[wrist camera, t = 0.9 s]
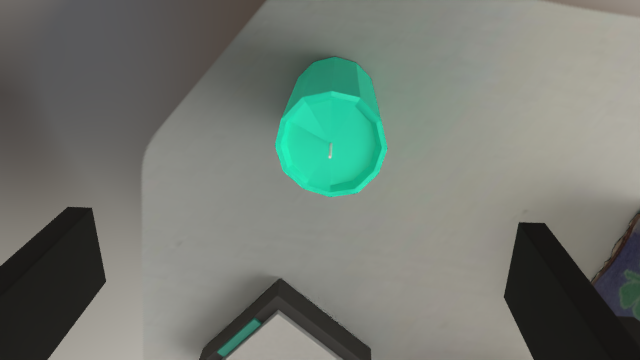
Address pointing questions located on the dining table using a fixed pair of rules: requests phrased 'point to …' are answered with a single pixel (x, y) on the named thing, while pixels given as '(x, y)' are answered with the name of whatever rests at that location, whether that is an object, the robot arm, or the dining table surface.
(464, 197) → the dining table surface
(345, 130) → the candle
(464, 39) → the dining table surface
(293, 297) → the scale
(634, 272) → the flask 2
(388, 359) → the dining table surface
